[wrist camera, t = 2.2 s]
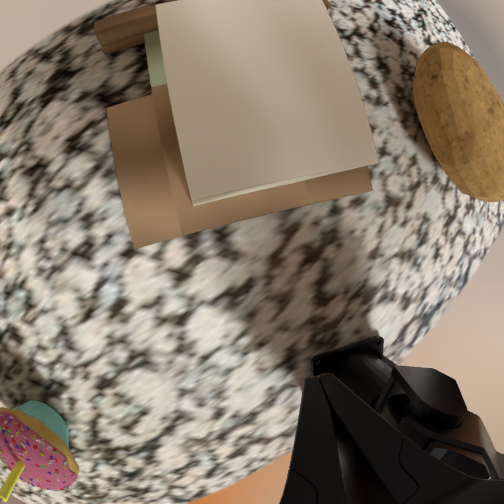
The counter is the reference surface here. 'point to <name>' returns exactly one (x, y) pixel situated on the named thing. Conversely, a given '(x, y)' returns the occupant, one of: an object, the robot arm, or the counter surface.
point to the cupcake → (35, 448)
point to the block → (260, 95)
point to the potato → (461, 120)
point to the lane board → (169, 156)
